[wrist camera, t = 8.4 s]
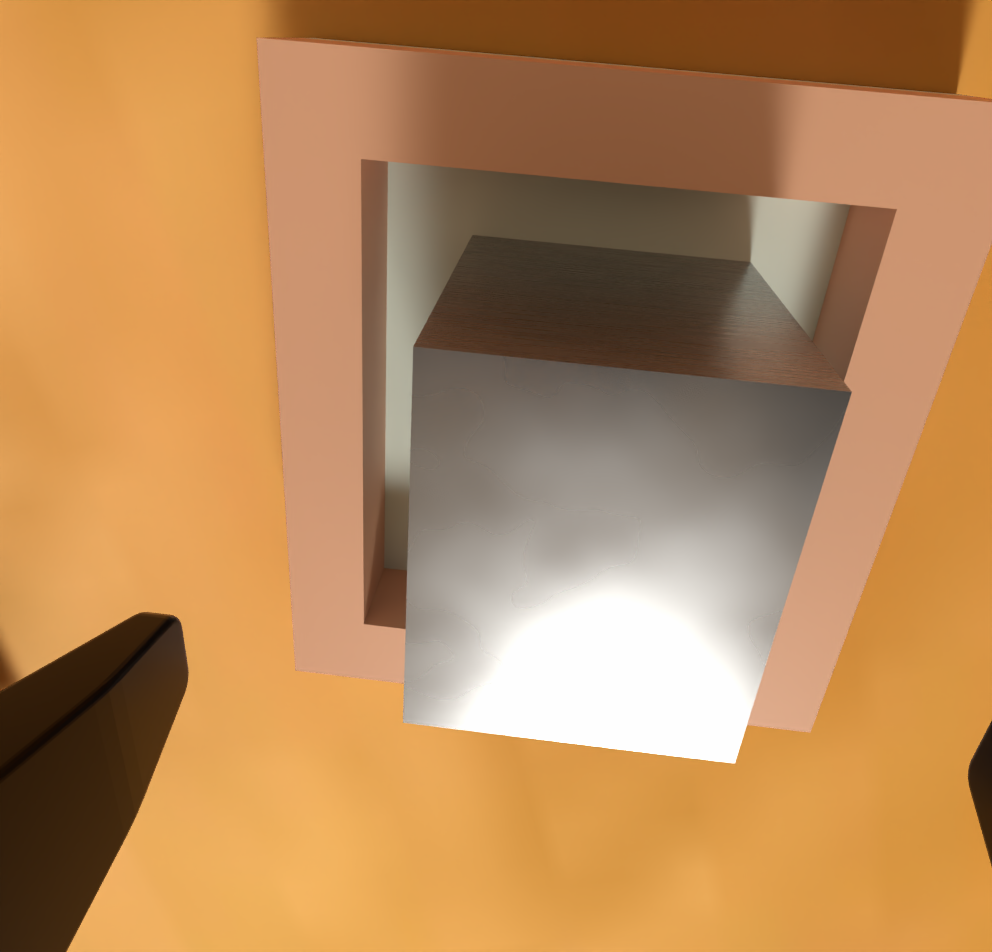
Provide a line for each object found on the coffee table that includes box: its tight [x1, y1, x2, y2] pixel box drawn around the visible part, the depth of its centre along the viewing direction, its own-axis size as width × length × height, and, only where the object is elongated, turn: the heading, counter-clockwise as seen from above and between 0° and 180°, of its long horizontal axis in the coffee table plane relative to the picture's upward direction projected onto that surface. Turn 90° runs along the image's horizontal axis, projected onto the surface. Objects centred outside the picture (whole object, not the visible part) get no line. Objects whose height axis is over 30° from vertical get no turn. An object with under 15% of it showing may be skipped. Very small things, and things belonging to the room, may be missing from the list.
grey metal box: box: [403, 235, 852, 763], centre depth 13 cm, size 5×6×6 cm
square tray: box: [257, 38, 992, 732], centre depth 15 cm, size 11×12×3 cm
